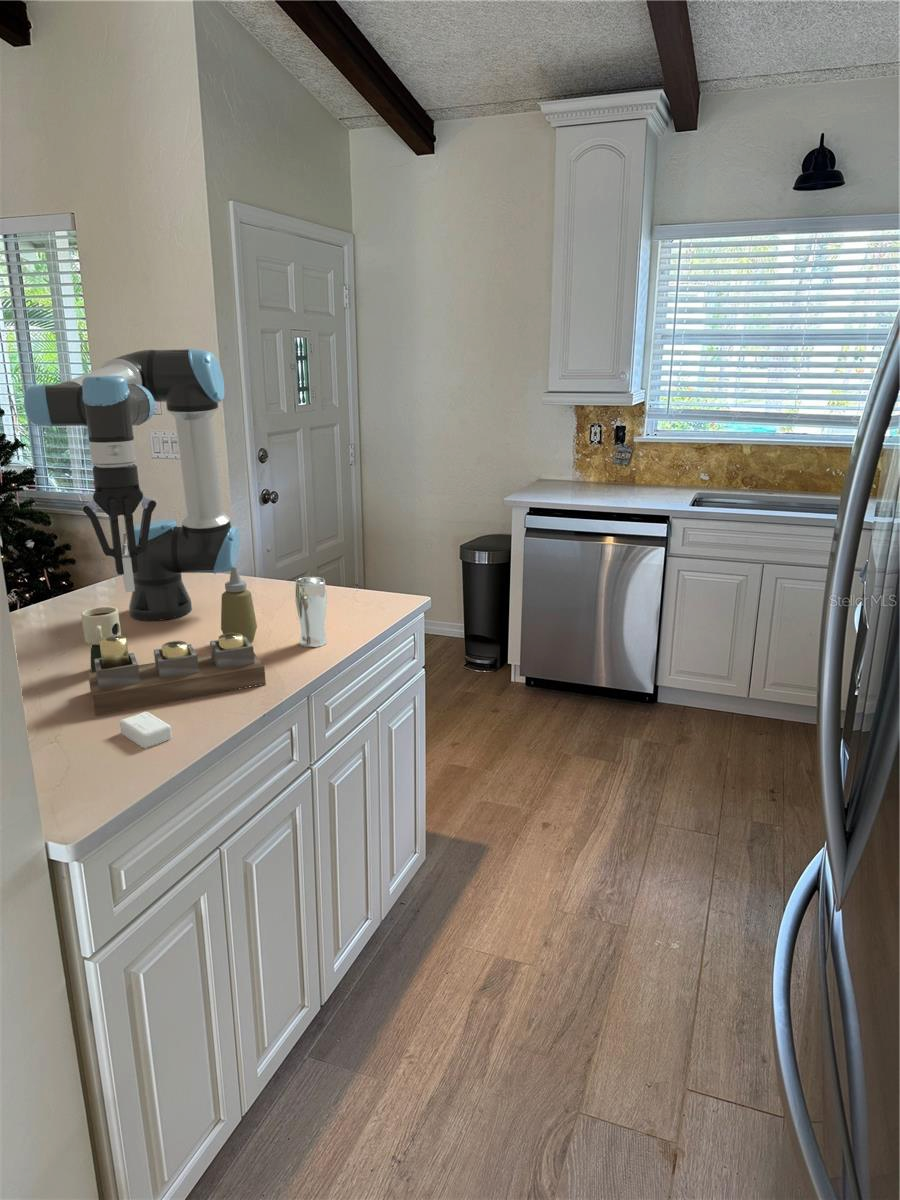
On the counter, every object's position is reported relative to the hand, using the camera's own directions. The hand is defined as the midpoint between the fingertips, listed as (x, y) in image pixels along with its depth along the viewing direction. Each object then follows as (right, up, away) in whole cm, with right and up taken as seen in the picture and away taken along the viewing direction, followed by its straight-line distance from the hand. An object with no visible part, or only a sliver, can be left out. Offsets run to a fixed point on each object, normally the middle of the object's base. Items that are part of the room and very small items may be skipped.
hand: (129, 589), depth 156 cm
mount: (+6, -20, +10) cm, 23 cm away
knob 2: (+16, -14, +13) cm, 25 cm away
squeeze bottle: (+12, -12, +35) cm, 39 cm away
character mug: (-12, -17, +19) cm, 28 cm away
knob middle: (+6, -16, +8) cm, 19 cm away
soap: (+7, -26, -10) cm, 29 cm away
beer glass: (+29, -12, +34) cm, 47 cm away
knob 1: (-4, -14, +3) cm, 15 cm away
